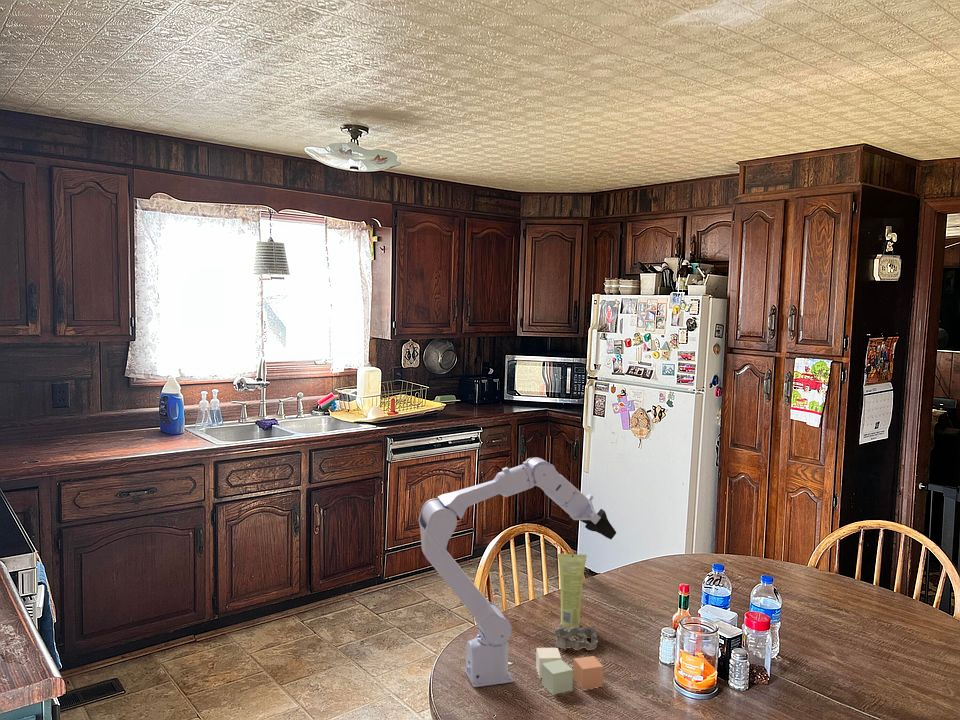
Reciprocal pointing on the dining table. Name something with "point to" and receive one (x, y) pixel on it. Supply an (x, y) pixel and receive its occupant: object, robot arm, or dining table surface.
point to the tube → (571, 587)
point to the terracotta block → (588, 672)
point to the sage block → (557, 677)
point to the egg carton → (566, 633)
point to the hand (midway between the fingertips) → (606, 531)
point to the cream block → (546, 657)
